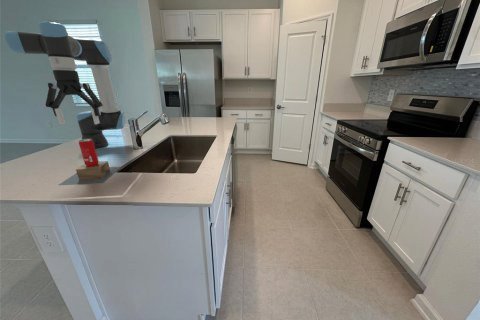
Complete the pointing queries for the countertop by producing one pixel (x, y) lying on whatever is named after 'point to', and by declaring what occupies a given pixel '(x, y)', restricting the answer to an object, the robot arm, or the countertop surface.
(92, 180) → the mat
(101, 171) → the base block
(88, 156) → the beverage can
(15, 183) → the countertop surface
